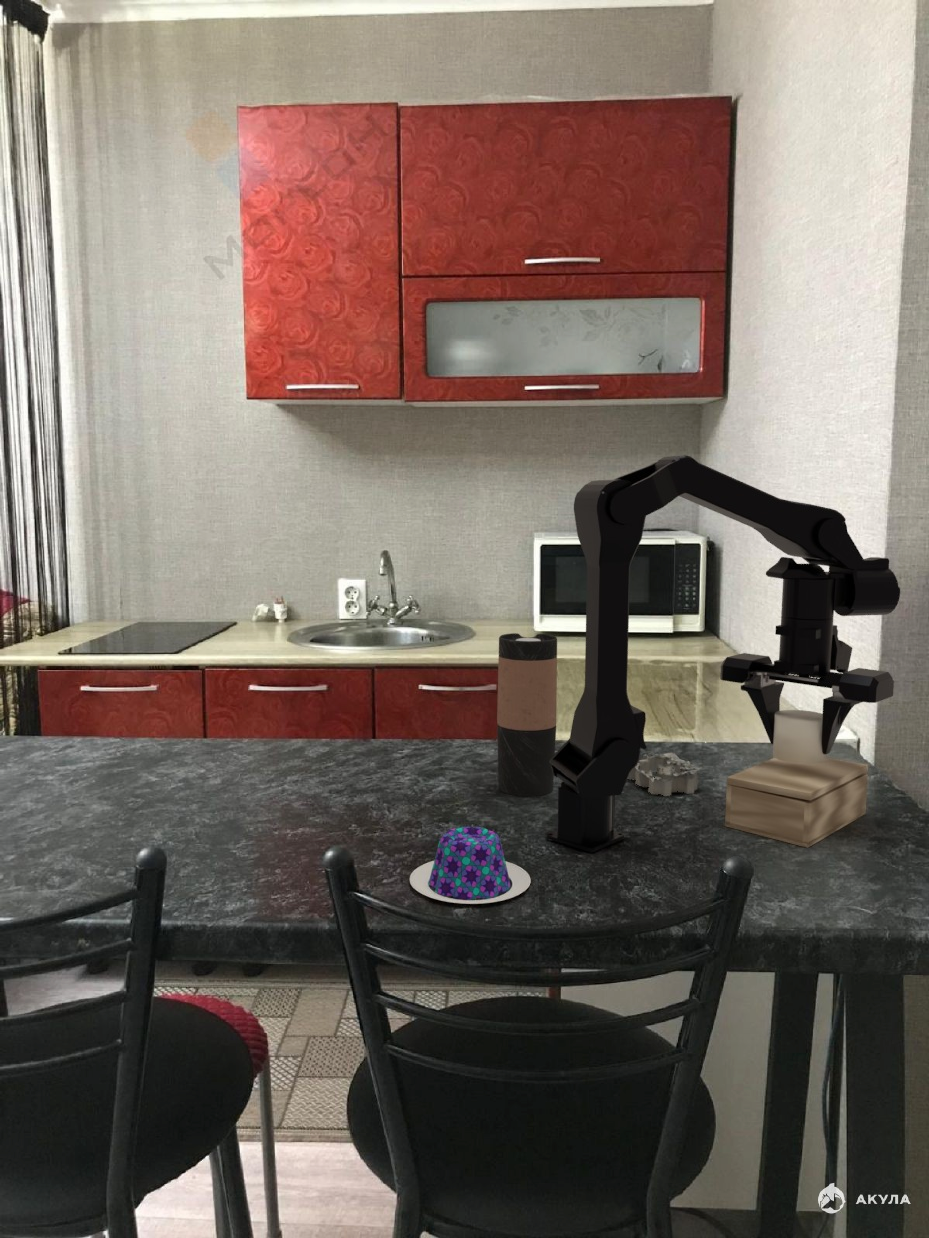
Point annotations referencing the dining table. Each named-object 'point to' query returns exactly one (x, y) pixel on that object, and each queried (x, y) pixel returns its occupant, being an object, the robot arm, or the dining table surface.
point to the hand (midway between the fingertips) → (799, 748)
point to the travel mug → (526, 713)
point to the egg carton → (665, 774)
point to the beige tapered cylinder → (798, 737)
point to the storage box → (795, 812)
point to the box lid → (797, 777)
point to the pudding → (470, 869)
